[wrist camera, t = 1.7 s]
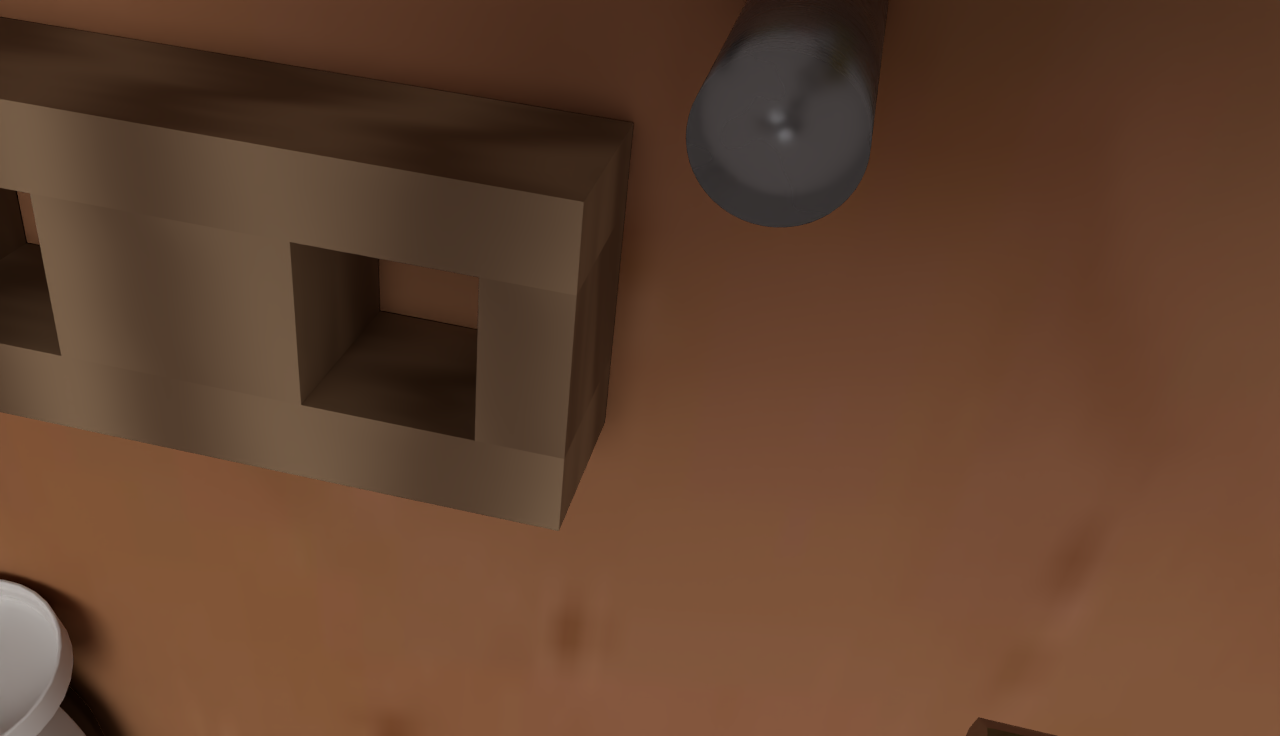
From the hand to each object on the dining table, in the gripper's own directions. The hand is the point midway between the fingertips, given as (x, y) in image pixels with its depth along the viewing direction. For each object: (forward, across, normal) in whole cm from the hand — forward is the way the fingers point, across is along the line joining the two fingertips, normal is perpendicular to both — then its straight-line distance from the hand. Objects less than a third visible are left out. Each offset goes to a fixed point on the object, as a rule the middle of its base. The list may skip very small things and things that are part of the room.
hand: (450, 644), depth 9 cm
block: (+21, +12, +8) cm, 26 cm away
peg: (+21, -2, -1) cm, 21 cm away
